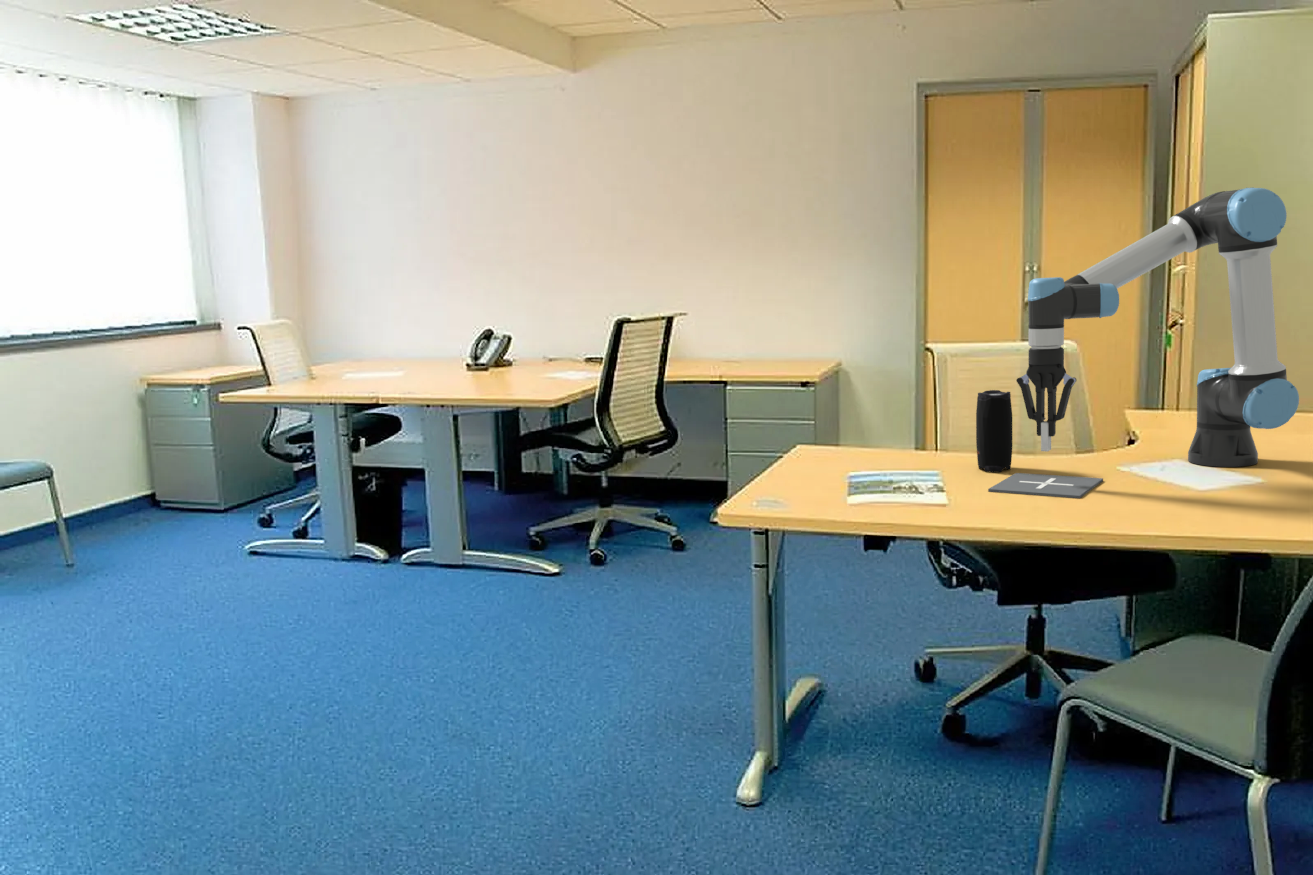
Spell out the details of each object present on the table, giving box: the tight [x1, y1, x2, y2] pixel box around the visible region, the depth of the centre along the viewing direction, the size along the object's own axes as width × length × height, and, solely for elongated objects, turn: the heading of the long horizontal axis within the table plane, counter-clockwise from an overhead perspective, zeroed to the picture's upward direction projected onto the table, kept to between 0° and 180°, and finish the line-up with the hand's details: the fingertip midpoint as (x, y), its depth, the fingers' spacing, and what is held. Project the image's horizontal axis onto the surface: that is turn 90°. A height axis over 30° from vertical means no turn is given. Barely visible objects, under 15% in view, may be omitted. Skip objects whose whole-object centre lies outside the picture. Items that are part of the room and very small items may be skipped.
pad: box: [987, 472, 1104, 499], centre depth 249 cm, size 20×20×1 cm
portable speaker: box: [975, 389, 1013, 473], centre depth 270 cm, size 9×9×20 cm
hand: (1046, 450), depth 248 cm, fingers closed
